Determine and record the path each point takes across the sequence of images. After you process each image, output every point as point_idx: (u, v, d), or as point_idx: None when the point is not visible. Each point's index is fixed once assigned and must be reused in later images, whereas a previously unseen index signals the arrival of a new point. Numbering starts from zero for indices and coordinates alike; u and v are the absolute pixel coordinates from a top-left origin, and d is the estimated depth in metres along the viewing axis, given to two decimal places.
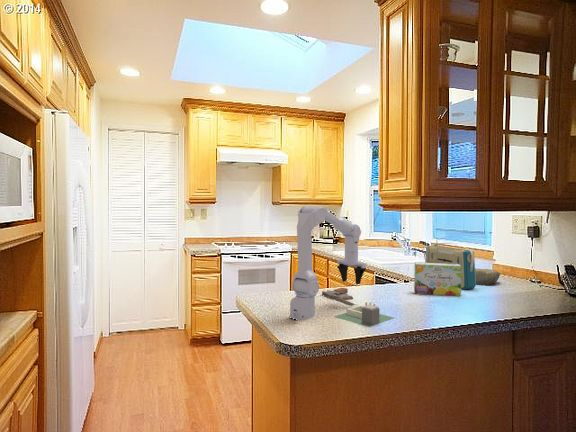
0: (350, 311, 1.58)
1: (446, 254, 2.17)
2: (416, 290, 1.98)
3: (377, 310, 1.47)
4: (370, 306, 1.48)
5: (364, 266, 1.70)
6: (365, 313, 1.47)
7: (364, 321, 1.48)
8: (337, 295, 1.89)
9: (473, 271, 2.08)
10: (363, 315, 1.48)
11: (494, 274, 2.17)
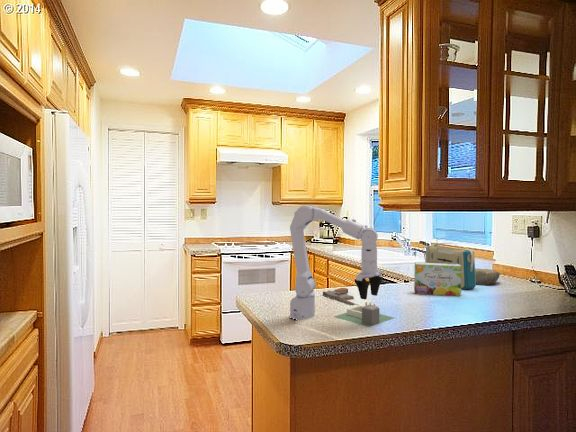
0: (350, 311, 1.58)
1: (446, 254, 2.17)
2: (416, 290, 1.98)
3: (377, 310, 1.47)
4: (370, 306, 1.48)
5: (358, 278, 1.45)
6: (365, 313, 1.47)
7: (364, 321, 1.48)
8: (338, 295, 1.88)
9: (473, 271, 2.08)
10: (363, 315, 1.48)
11: (494, 274, 2.17)
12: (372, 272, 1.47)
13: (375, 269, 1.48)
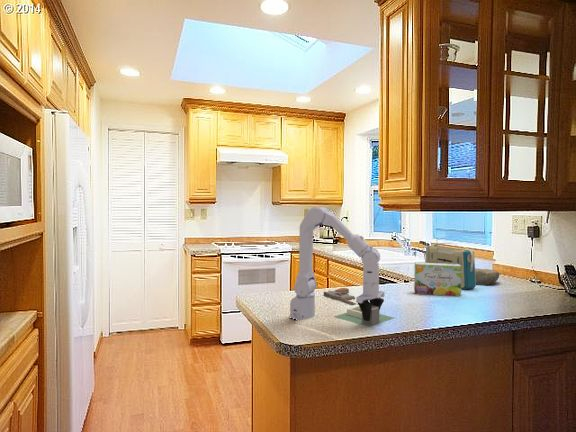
0: (350, 311, 1.58)
1: (446, 254, 2.17)
2: (416, 290, 1.98)
3: (377, 310, 1.47)
4: None
5: (358, 300, 1.43)
6: None
7: (364, 321, 1.48)
8: (339, 295, 1.88)
9: (473, 271, 2.08)
10: None
11: (494, 274, 2.17)
12: (373, 294, 1.45)
13: (376, 291, 1.46)
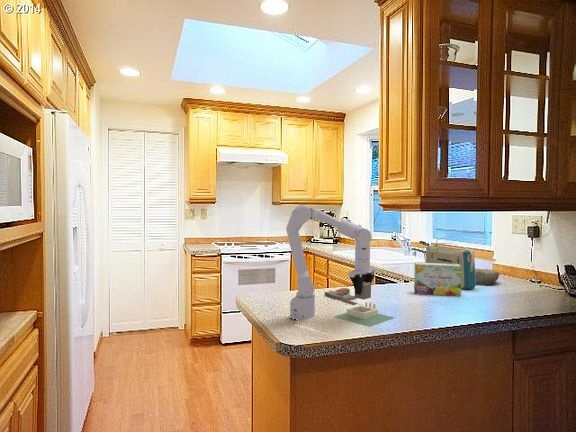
0: (350, 311, 1.58)
1: (446, 254, 2.17)
2: (416, 290, 1.98)
3: (369, 285, 1.57)
4: None
5: (350, 275, 1.53)
6: None
7: (356, 296, 1.58)
8: (341, 295, 1.88)
9: (473, 271, 2.08)
10: None
11: (493, 274, 2.17)
12: (364, 269, 1.55)
13: (367, 267, 1.56)
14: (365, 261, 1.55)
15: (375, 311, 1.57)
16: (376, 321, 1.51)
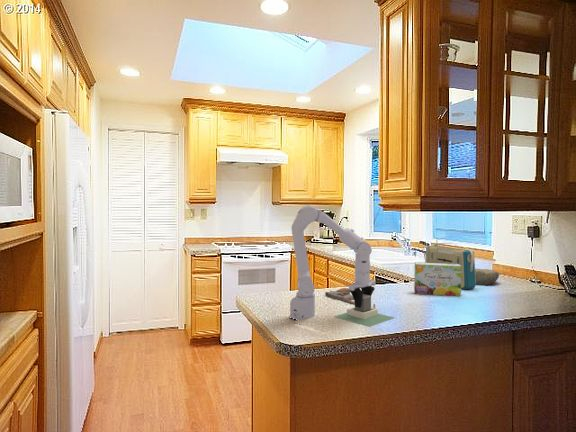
0: (350, 311, 1.58)
1: (446, 254, 2.17)
2: (416, 290, 1.98)
3: (368, 298, 1.57)
4: None
5: (350, 288, 1.53)
6: None
7: (356, 309, 1.58)
8: (341, 295, 1.88)
9: (473, 271, 2.08)
10: None
11: (493, 274, 2.17)
12: (364, 282, 1.55)
13: (367, 280, 1.56)
14: (365, 274, 1.55)
15: (375, 311, 1.57)
16: (376, 321, 1.51)
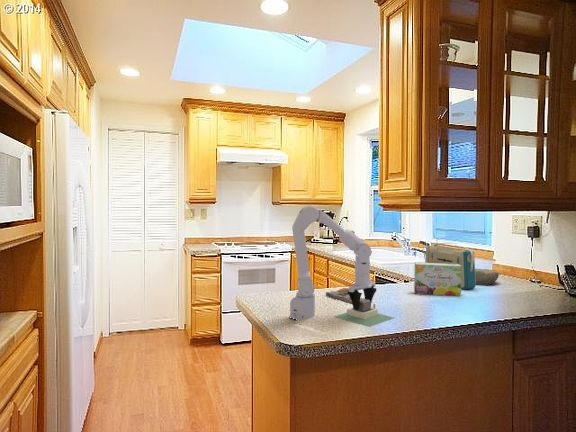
0: (350, 311, 1.58)
1: (446, 254, 2.17)
2: (416, 290, 1.98)
3: (368, 303, 1.57)
4: (362, 299, 1.59)
5: (350, 290, 1.53)
6: None
7: None
8: (342, 296, 1.88)
9: (473, 271, 2.08)
10: None
11: (493, 274, 2.17)
12: (364, 284, 1.55)
13: (367, 281, 1.56)
14: (365, 276, 1.55)
15: (375, 311, 1.57)
16: (376, 321, 1.51)
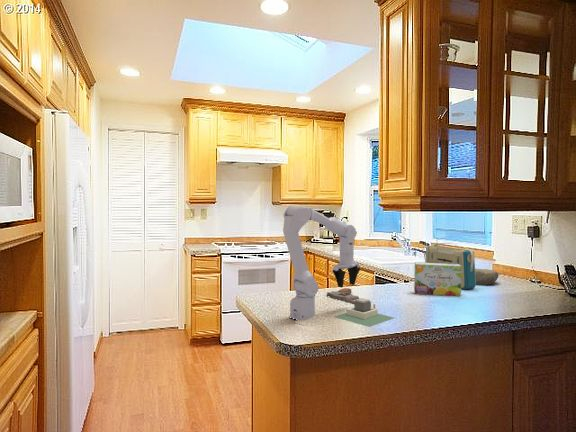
0: (350, 311, 1.58)
1: (446, 254, 2.17)
2: (416, 290, 1.98)
3: (368, 303, 1.57)
4: (362, 299, 1.59)
5: (334, 268, 1.63)
6: (357, 305, 1.57)
7: None
8: (343, 296, 1.87)
9: (473, 271, 2.08)
10: (355, 307, 1.58)
11: (493, 274, 2.17)
12: (348, 263, 1.65)
13: (351, 261, 1.65)
14: (349, 255, 1.65)
15: (375, 311, 1.57)
16: (376, 321, 1.51)
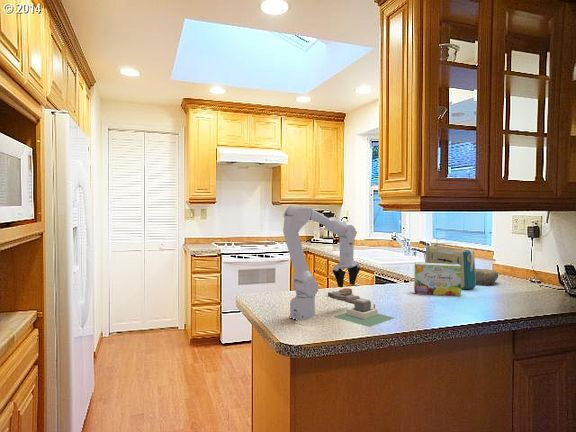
0: (350, 311, 1.58)
1: (446, 254, 2.17)
2: (416, 290, 1.98)
3: (368, 303, 1.57)
4: (362, 299, 1.59)
5: (334, 268, 1.63)
6: (357, 305, 1.57)
7: None
8: (344, 296, 1.87)
9: (473, 271, 2.08)
10: (355, 307, 1.58)
11: (492, 274, 2.17)
12: (348, 263, 1.65)
13: (351, 261, 1.65)
14: (349, 255, 1.65)
15: (375, 311, 1.57)
16: (376, 321, 1.51)
